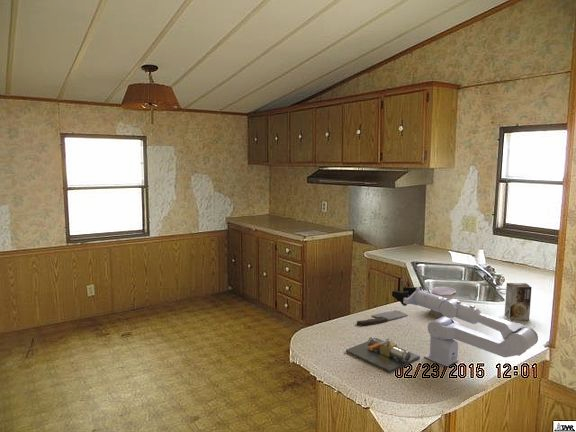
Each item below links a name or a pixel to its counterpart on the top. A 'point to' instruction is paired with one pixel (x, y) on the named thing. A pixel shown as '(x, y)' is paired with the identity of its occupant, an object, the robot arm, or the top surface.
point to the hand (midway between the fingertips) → (398, 291)
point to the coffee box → (518, 301)
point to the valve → (383, 355)
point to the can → (442, 292)
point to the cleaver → (382, 318)
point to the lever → (379, 344)
